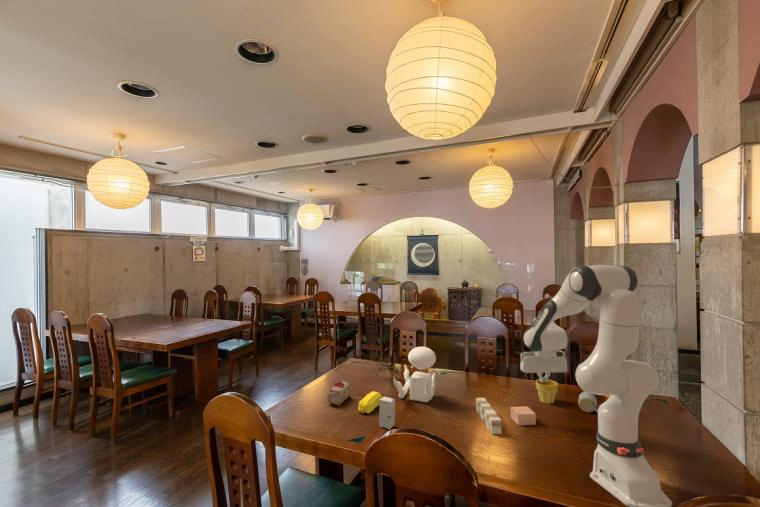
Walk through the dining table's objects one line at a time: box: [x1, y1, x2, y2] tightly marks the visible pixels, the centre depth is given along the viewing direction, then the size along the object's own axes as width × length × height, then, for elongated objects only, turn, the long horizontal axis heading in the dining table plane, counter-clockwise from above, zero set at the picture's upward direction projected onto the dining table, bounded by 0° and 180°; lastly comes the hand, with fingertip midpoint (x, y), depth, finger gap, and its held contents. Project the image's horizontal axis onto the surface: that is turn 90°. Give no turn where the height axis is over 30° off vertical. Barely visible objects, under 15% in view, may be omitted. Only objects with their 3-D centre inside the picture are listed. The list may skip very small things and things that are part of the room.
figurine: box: [393, 346, 437, 403], centre depth 188 cm, size 24×20×28 cm
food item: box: [327, 381, 351, 407], centre depth 186 cm, size 14×8×10 cm, turn 160°
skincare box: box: [378, 396, 396, 430], centre depth 157 cm, size 6×4×12 cm
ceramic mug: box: [577, 391, 601, 413], centre depth 169 cm, size 11×8×8 cm
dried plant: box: [334, 327, 402, 377], centre depth 221 cm, size 30×31×45 cm
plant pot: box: [535, 378, 559, 405], centre depth 181 cm, size 10×10×10 cm
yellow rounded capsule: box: [358, 390, 383, 414], centre depth 177 cm, size 18×7×8 cm
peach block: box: [510, 406, 537, 426], centre depth 160 cm, size 8×8×5 cm
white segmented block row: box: [475, 397, 503, 435], centre depth 160 cm, size 24×4×6 cm, turn 0°
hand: (543, 381), depth 160 cm, fingers closed
